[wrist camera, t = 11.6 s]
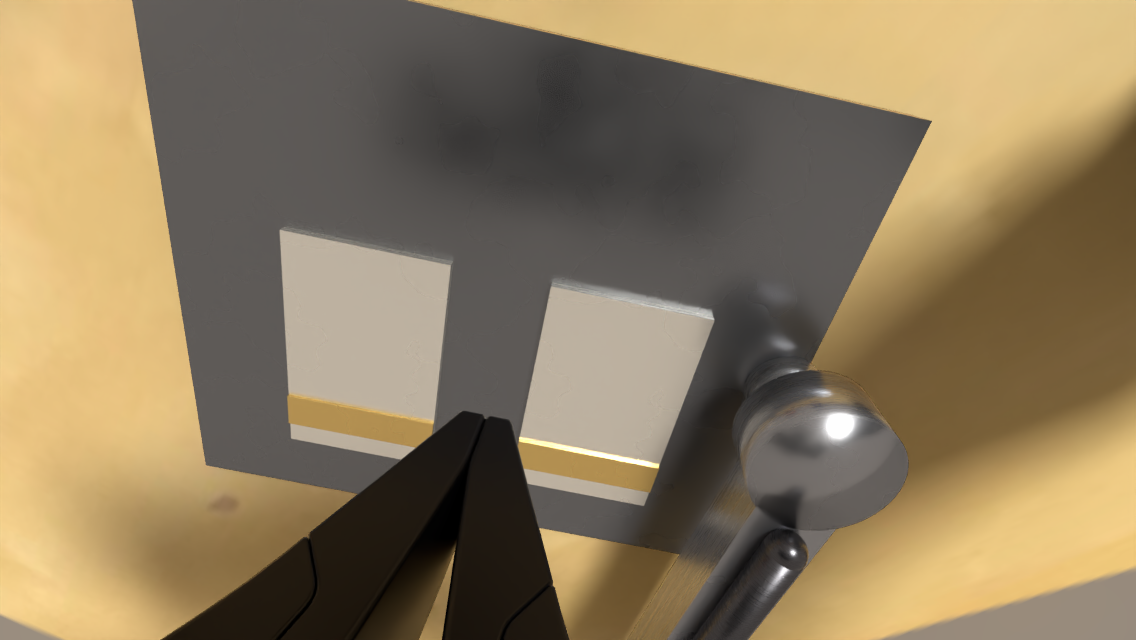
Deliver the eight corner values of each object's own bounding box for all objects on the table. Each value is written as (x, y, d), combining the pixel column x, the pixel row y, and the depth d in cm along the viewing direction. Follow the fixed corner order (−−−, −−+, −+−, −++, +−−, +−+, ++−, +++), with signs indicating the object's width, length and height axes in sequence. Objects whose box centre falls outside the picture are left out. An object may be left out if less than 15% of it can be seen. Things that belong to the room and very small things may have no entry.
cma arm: (770, 353, 15) (806, 424, 12) (902, 393, 15) (964, 470, 13) (561, 716, 24) (555, 801, 22) (645, 735, 25) (650, 820, 22)
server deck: (936, 121, 15) (1001, 139, 12) (724, 542, 23) (738, 602, 20) (152, -60, 14) (58, -78, 11) (222, 447, 22) (175, 498, 19)
